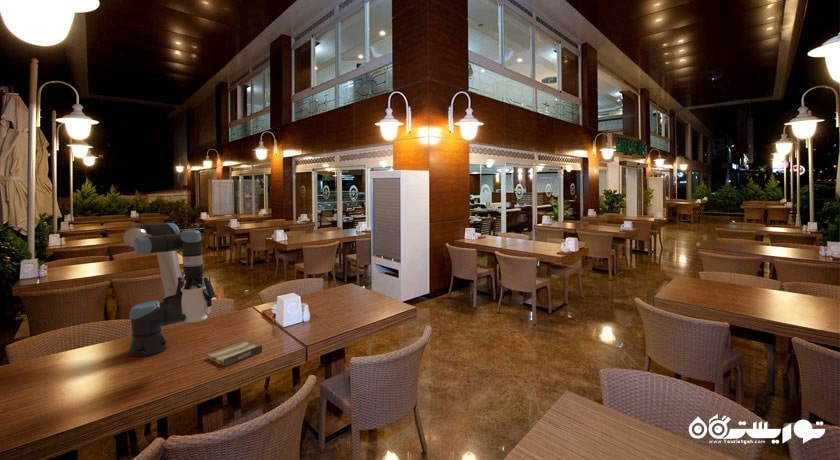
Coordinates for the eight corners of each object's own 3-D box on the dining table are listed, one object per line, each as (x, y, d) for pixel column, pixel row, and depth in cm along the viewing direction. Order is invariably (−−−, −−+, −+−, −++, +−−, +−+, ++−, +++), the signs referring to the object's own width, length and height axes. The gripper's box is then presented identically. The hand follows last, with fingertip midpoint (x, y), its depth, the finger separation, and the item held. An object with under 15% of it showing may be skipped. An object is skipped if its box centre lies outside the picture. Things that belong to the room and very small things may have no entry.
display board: (207, 358, 172) (207, 351, 171) (243, 344, 187) (243, 338, 186) (225, 366, 163) (225, 360, 163) (262, 352, 178) (262, 345, 178)
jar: (206, 322, 164) (204, 289, 162) (179, 324, 161) (177, 290, 159) (212, 314, 174) (210, 283, 172) (187, 317, 171) (185, 285, 170)
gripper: (162, 266, 162) (166, 315, 164) (211, 266, 160) (215, 316, 162) (175, 263, 170) (179, 310, 172) (222, 263, 168) (225, 311, 170)
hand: (196, 313), depth 167 cm, fingers closed on jar, 10 cm apart
